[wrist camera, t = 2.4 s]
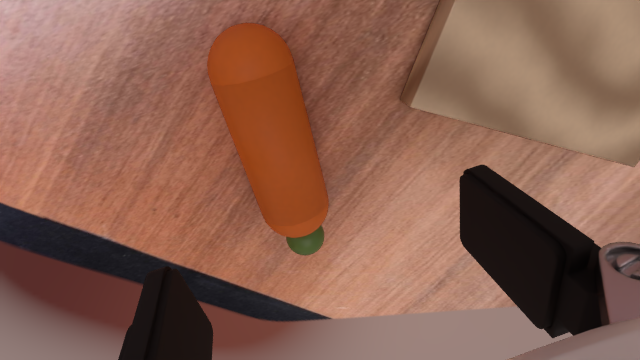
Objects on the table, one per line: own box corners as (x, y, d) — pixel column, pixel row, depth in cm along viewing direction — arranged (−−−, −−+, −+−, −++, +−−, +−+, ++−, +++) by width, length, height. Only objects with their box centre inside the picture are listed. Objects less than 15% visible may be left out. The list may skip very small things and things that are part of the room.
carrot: (224, 22, 17) (173, 43, 14) (295, 7, 16) (255, 27, 13) (293, 227, 25) (269, 269, 22) (347, 230, 23) (329, 277, 20)
